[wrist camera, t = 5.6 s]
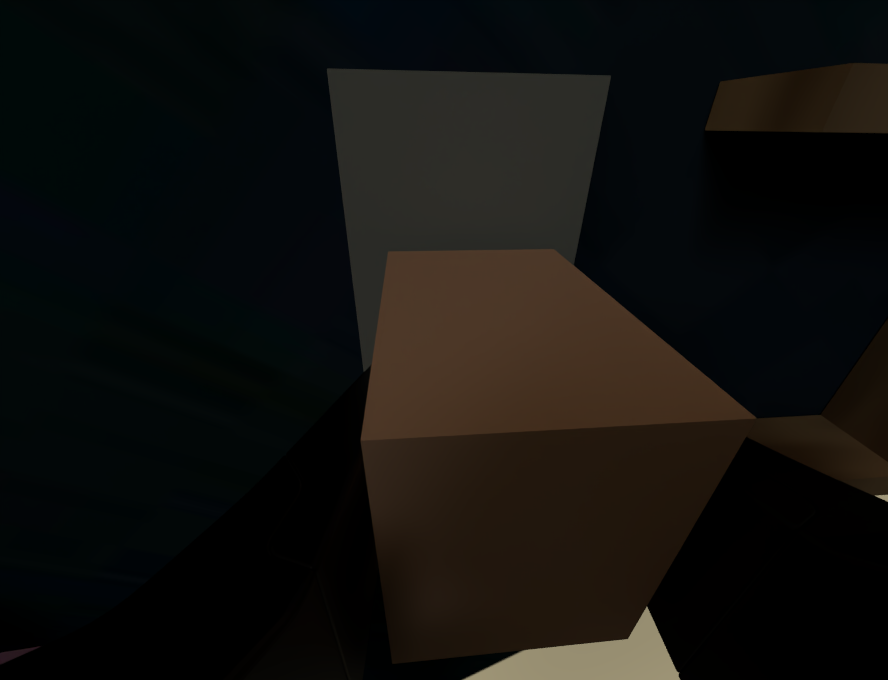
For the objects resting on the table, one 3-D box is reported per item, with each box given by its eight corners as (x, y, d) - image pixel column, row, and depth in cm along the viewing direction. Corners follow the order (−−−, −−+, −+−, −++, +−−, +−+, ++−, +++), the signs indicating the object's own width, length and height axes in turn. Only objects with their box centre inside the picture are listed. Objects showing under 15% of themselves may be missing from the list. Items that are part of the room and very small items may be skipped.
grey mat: (377, 459, 14) (376, 472, 13) (332, 72, 8) (326, 68, 7) (530, 449, 14) (534, 461, 14) (598, 78, 8) (610, 75, 8)
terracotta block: (398, 413, 11) (392, 664, 6) (388, 251, 9) (360, 440, 3) (527, 407, 11) (627, 638, 6) (554, 249, 9) (755, 418, 4)
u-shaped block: (603, 445, 15) (645, 513, 12) (720, 81, 9) (852, 63, 6) (829, 431, 16) (913, 492, 13) (1081, 90, 9) (1333, 76, 7)
